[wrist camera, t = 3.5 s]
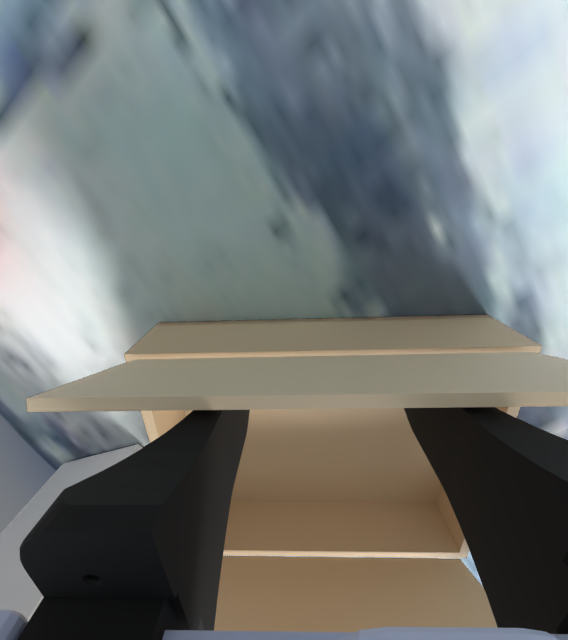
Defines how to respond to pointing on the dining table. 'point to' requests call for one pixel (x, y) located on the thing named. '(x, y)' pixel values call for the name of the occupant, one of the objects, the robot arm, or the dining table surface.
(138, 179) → the dining table surface
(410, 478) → the carton
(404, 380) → the front flap
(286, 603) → the back flap
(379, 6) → the dining table surface
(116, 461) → the milk carton
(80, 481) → the robot arm
